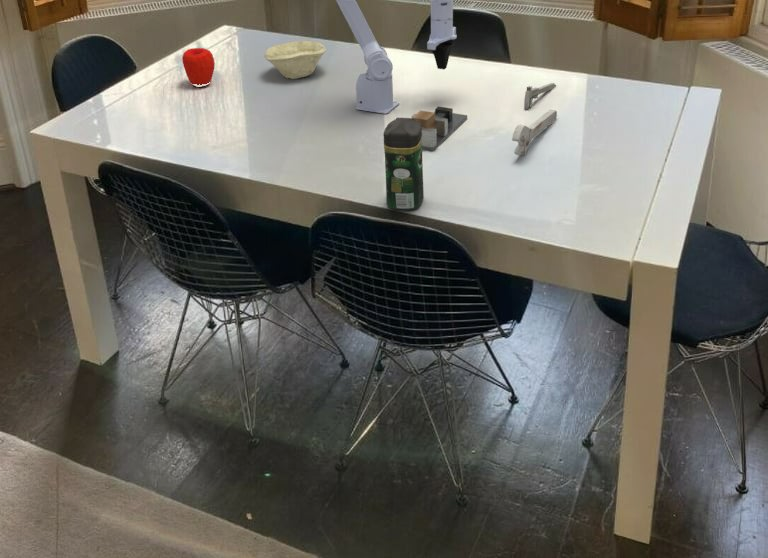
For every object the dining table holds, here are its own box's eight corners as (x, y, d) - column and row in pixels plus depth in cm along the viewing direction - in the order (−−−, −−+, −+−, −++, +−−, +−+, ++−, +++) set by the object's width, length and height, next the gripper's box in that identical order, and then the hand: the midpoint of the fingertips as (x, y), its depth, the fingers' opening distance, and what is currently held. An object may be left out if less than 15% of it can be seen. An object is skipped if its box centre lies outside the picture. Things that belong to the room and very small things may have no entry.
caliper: (527, 111, 246) (528, 88, 243) (523, 110, 246) (524, 88, 243) (556, 86, 261) (557, 65, 257) (552, 86, 261) (553, 64, 258)
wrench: (555, 130, 241) (517, 163, 217) (548, 129, 242) (509, 161, 218) (558, 100, 238) (520, 129, 214) (551, 99, 239) (512, 128, 214)
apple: (221, 80, 274) (216, 44, 269) (210, 91, 267) (205, 54, 261) (193, 79, 276) (188, 43, 270) (181, 89, 269) (175, 53, 263)
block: (412, 140, 229) (412, 117, 226) (420, 132, 233) (420, 110, 230) (427, 142, 228) (426, 119, 225) (435, 135, 232) (435, 112, 228)
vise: (400, 145, 229) (399, 126, 227) (435, 114, 246) (435, 96, 243) (433, 151, 226) (433, 132, 223) (467, 118, 242) (467, 100, 240)
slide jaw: (411, 131, 234) (411, 116, 232) (429, 116, 242) (429, 101, 240) (444, 136, 231) (444, 121, 228) (461, 120, 239) (461, 106, 237)
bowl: (290, 98, 272) (251, 65, 270) (315, 73, 285) (278, 41, 284) (313, 66, 263) (273, 32, 261) (338, 42, 276) (300, 9, 274)
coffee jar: (391, 191, 208) (388, 113, 199) (426, 193, 207) (424, 114, 197) (382, 211, 200) (379, 131, 191) (418, 213, 199) (417, 132, 189)
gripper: (444, 27, 234) (445, 78, 241) (466, 11, 245) (466, 61, 252) (419, 24, 237) (420, 75, 244) (441, 9, 248) (442, 58, 255)
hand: (441, 68), depth 249 cm, fingers closed
